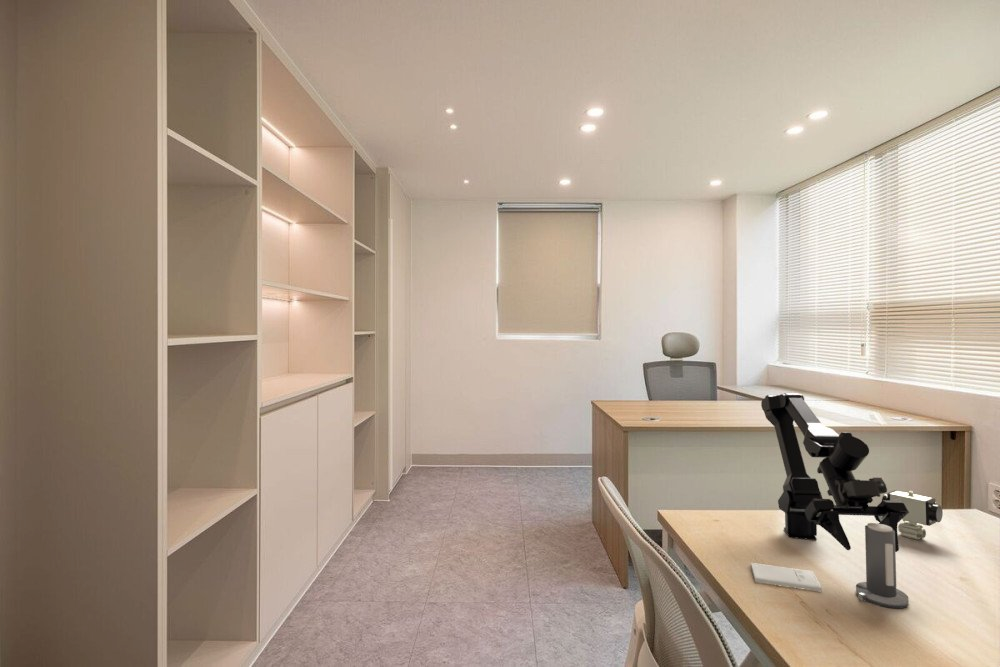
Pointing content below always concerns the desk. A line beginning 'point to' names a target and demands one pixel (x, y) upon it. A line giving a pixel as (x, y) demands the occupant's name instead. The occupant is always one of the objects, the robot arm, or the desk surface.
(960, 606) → the desk surface
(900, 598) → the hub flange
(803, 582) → the external hard drive
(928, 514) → the pneumatic valve
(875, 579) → the dark gray cylinder
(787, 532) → the robot arm
